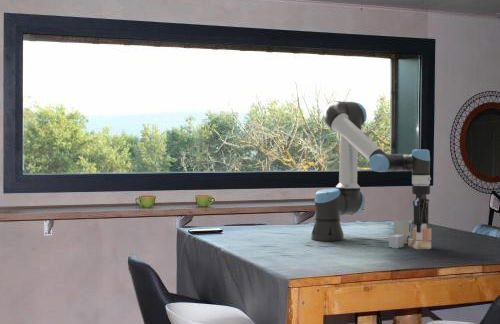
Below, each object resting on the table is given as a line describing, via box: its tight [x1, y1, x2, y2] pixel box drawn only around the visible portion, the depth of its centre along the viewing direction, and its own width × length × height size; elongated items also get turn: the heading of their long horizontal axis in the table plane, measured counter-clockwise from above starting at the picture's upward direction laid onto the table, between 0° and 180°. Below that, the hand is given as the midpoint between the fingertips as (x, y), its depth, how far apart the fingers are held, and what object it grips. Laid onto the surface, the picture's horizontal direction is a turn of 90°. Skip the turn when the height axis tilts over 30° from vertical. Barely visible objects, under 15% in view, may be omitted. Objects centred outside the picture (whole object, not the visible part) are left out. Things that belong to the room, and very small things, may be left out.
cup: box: [392, 219, 412, 245], centre depth 303 cm, size 8×8×10 cm
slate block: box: [388, 234, 405, 249], centre depth 292 cm, size 7×4×5 cm, turn 146°
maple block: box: [407, 238, 432, 250], centre depth 290 cm, size 10×6×4 cm, turn 10°
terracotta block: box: [411, 226, 432, 241], centre depth 290 cm, size 7×4×5 cm, turn 56°
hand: (421, 239), depth 290 cm, fingers closed on terracotta block, 4 cm apart
